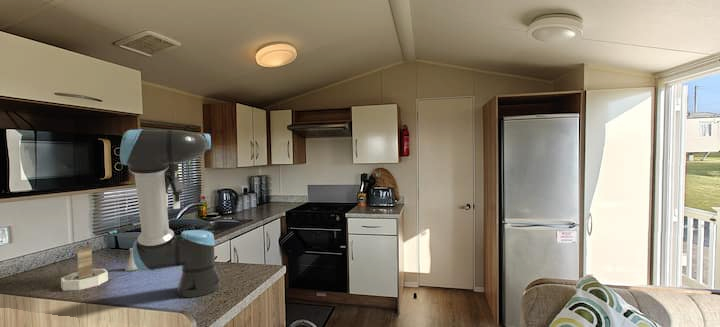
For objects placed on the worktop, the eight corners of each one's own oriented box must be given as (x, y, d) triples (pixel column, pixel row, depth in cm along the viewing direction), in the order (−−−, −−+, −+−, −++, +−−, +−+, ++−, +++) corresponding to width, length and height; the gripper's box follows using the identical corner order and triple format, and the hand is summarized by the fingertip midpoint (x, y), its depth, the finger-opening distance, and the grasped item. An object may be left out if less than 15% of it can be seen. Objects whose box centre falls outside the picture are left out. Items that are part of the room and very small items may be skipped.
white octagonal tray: (110, 282, 138) (110, 273, 138) (64, 293, 127) (64, 283, 127) (102, 275, 147) (102, 266, 147) (59, 284, 136) (59, 275, 136)
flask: (127, 272, 150) (127, 251, 150) (122, 269, 154) (121, 249, 154) (145, 268, 156) (144, 247, 156) (139, 265, 160) (139, 245, 160)
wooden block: (92, 280, 138) (91, 248, 138) (78, 284, 134) (77, 250, 134) (91, 279, 139) (90, 247, 139) (77, 282, 136) (76, 249, 136)
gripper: (189, 162, 148) (190, 208, 148) (167, 163, 163) (168, 205, 163) (172, 162, 142) (173, 210, 142) (150, 164, 157) (151, 207, 157)
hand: (170, 207), depth 152 cm, fingers open, 13 cm apart
